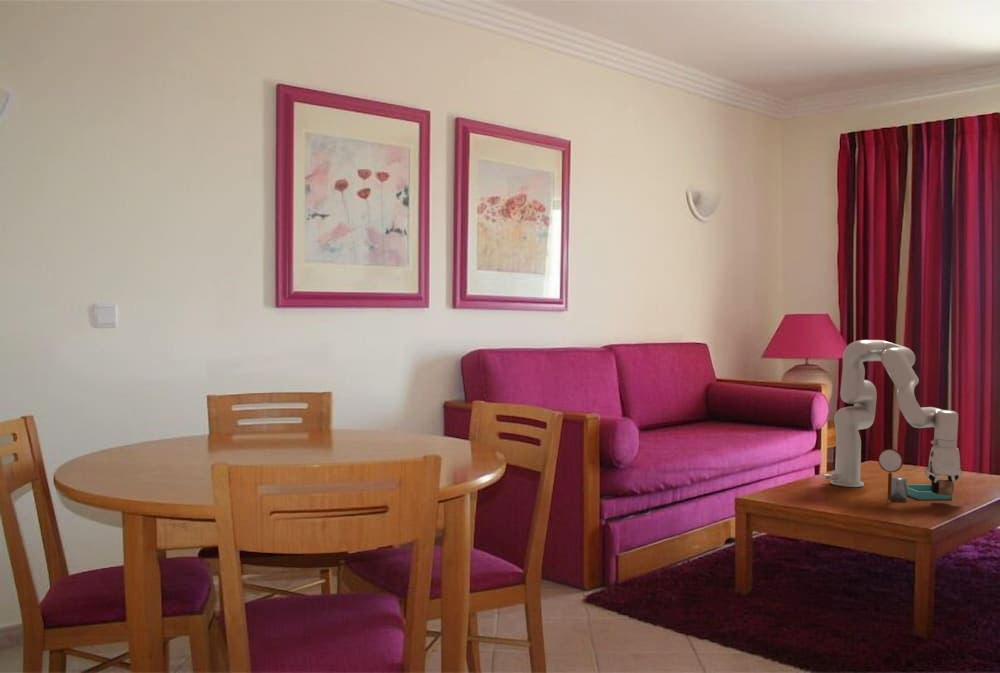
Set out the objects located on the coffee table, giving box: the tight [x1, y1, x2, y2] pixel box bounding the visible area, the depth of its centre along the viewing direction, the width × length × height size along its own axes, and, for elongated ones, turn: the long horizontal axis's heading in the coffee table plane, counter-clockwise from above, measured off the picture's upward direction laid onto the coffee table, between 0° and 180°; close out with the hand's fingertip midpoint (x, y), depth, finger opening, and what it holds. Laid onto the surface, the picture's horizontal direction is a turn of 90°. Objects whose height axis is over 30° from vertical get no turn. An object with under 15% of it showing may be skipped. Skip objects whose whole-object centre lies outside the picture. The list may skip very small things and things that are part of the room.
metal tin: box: [891, 476, 909, 502], centre depth 335 cm, size 6×6×8 cm
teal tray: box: [907, 484, 953, 501], centre depth 342 cm, size 14×14×3 cm
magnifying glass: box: [877, 448, 904, 503], centre depth 328 cm, size 9×2×20 cm, turn 49°
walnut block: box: [933, 478, 954, 496], centre depth 329 cm, size 5×5×5 cm
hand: (942, 492), depth 329 cm, fingers closed on walnut block, 5 cm apart
